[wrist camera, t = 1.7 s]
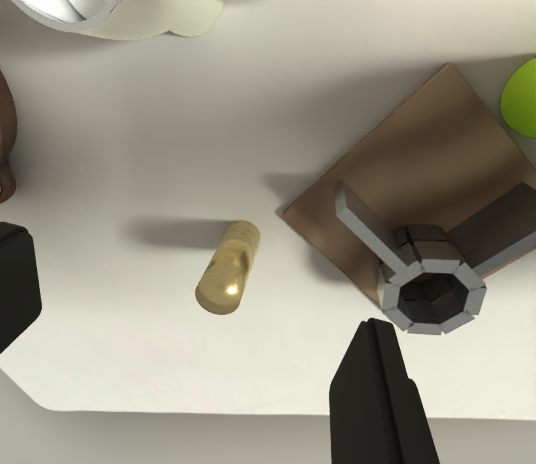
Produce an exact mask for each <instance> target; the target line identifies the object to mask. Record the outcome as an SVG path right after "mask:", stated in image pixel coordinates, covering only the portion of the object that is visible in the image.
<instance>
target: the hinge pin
mask: <svg viewBox="0 0 536 464" xmlns="http://www.w3.org/2000/svg"><path fill="white" fill-rule="evenodd" d="M259 242H260V233H259V231H258V229H257V228H256V227H255V226H254V225H253V224H251V223H250V222H247V221H236V222H234V223H232V224H231V225H230V226H229V227H228V229H227V231H226V232H225V234H224V236H223V238H222V240H221V242H220V244H219V246H218V248H217V250H216V251H215V253H214V255H213V257H212V259H211V261H210V263H209V265H208V267H207V269H206V270H205V272H204V274H203V276H202V278H201V280H200V282H199V284H198V286H197V288H196V291H195V296H196V299H197V301H198V303H199V304H200V305H201V307H203V308H204V309H205V310H207V311H208V312H211V313H213V314H218V315H226V314H230V313H232V312H234V311H235V310H236V309H237V308H238V306H239V303H240V300H241V297H242V294H243V291H244V288H245V285H246V282H247V279H248V276H249V273H250V270H251V266H252V263H253V260H254V257H255V254H256V251H257V248H258V245H259Z"/></svg>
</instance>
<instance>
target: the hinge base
mask: <svg viewBox="0 0 536 464" xmlns="http://www.w3.org/2000/svg"><path fill="white" fill-rule="evenodd" d="M342 180H343V181H344V182H345V183H346V184H347V185H348V186H349V187H350V188H351V189H352V190H353V191H354V192H355V193H356V194H357V195H358V196H359V197H360V198H361V199H362V200H363V201H364V202H365V203H366V204H367V205H368V206H369V207H370V208H371V209H372V210H373V211H374V212H375V213H376V214H377V215H378V216H379V217H380V218H381V219H382V220H383V221H384V222H385V223H386V224H387V225H388V226H389V227H390V228H391V229H392V230H393V231H394V230H395V229H397V228H398V227H399V226H402V227H403V228H404V229H405V225H406V224H428V225H437V226H438V227H442V228H443V229H444V230H445V231H446V232H448V231H449V230H451V229H452V228H454V227H455V226H457V225H458V224H460V223H461V222H463V221H464V220H466V219H467V218H469V217H470V216H472V215H473V214H475V213H476V212H478V211H479V210H481V209H482V208H484V207H485V206H487V205H488V204H490V203H491V202H492V201H494V200H495V199H497V198H498V197H500V196H501V195H503V194H504V193H506V192H507V191H509V190H510V189H512V188H513V187H515V186H516V185H518V184H519V183H521V182H522V181H523V182H525V183H526V184H528V185H529V186H531V187H532V188H534V189H535V190H536V169H535V168H534V167H533V165H532V164H531V163H530V162H529V160H528V159H527V158H526V157H525V155H524V154H523V153H522V151H521V150H520V149H519V148H518V146H517V145H516V144H515V143H514V141H513V140H512V139H511V138H510V136H509V135H508V134H507V133H506V131H505V130H504V129H503V128H502V126H501V125H500V124H499V123H498V121H497V120H496V119H495V118H494V116H493V115H492V114H491V113H490V111H489V110H488V109H487V108H486V106H485V105H484V104H483V103H482V101H481V100H480V99H479V98H478V96H477V95H476V94H475V93H474V91H473V90H472V89H471V88H470V86H469V85H468V84H467V83H466V81H465V80H464V79H463V77H462V76H461V75H460V74H459V72H458V71H457V70H456V69H455V67H454V66H453V65H452V64H451V63H447V64H445V65H444V66H443V67H442V68H441V69H440V70H439V71H438V72H437V73H436V74H435V75H433V76H432V77H431V78H430V79H429V80H428V81H427V82H426V83H425V84H424V85H422V86H421V87H420V88H419V89H418V90H417V91H416V92H415V93H414V94H413V95H411V96H410V97H409V98H408V99H407V100H406V101H405V102H404V103H403V104H402V105H400V106H399V107H398V108H397V109H396V110H395V111H394V112H393V113H392V114H391V115H390V116H388V117H387V118H386V119H385V120H384V121H383V122H382V123H381V124H380V125H379V126H377V127H376V128H375V129H374V130H373V131H372V132H371V133H370V134H369V135H368V136H366V137H365V138H364V139H363V140H362V141H361V142H360V143H359V144H358V145H357V146H356V147H354V148H353V149H352V150H351V151H350V152H349V153H348V154H347V155H346V156H345V157H343V158H342V159H341V160H340V161H339V162H338V163H337V164H336V165H335V166H334V167H332V168H331V169H330V170H329V171H328V172H327V173H326V174H325V175H324V176H323V177H322V178H320V179H319V180H318V181H317V182H316V183H315V184H314V185H313V186H312V187H311V188H309V189H308V190H307V191H306V192H305V193H304V194H303V195H302V196H301V197H300V198H298V199H297V200H296V201H295V202H294V203H293V204H292V205H291V206H290V207H289V208H287V209H286V210H285V211H284V212H283V215H282V217H283V218H284V219H285V220H286V221H287V222H288V223H290V224H291V225H292V226H293V227H294V228H295V229H296V230H297V231H298V232H299V233H300V234H302V235H303V236H304V237H305V238H306V239H307V240H308V241H309V242H310V243H311V244H313V245H314V246H315V247H316V248H317V249H318V250H319V251H320V252H321V253H322V254H324V255H325V256H326V257H327V258H328V259H329V260H330V261H331V262H332V263H333V264H334V265H336V266H337V267H338V268H339V269H340V270H341V271H342V272H343V273H344V274H345V275H347V276H348V277H349V278H350V279H351V280H352V281H353V282H354V283H355V284H356V285H358V286H359V287H360V288H361V289H362V290H363V291H364V292H365V293H366V294H367V295H368V296H370V297H371V298H372V299H373V300H374V301H375V302H376V303H377V304H378V305H379V306H381V305H380V301H379V296H378V292H377V287H376V283H375V279H374V275H373V270H372V268H373V260H374V252H373V251H372V250H371V249H370V248H369V247H368V246H367V245H366V244H365V243H364V242H363V241H362V240H361V239H360V238H359V237H358V236H357V235H356V234H355V233H354V232H353V231H352V230H351V229H350V228H349V227H347V226H346V225H345V224H344V223H343V222H342V221H341V220H340V219H339V218H338V217H337V216H336V205H335V194H334V187H335V186H336V185H337V184H338V183H339V182H341V181H342ZM534 249H536V245H534V246H533V247H531V248H529V249H527V250H526V251H524V252H522V253H521V254H519V255H517V256H515V257H514V258H512V259H510V260H509V261H507V262H505V263H503V264H502V265H500V266H498V267H497V268H495V269H493V270H491V271H490V272H488V273H486V274H485V275H483V276H481V278H482V279H484V278H486V277H487V276H489V275H491V274H493V273H494V272H496V271H498V270H500V269H501V268H503V267H505V266H506V265H508V264H510V263H512V262H513V261H515V260H517V259H519V258H520V257H522V256H524V255H525V254H527V253H529V252H531V251H532V250H534ZM434 274H435V273H431V272H423V273H421V274H420V275H418V276H417V277H415V278H414V279H412V280H410V281H409V282H423V281H424V280H426V279H427V278H429V277H431V276H432V275H434Z"/></svg>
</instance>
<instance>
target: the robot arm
mask: <svg viewBox="0 0 536 464" xmlns="http://www.w3.org/2000/svg"><path fill="white" fill-rule="evenodd" d="M41 310H42V302H41V295H40V288H39V280H38V273H37V266H36V258H35V251H34V244H33V238H32V236H31V235H30V234H29V233H28V230H27V229H26V228H24V227H22V226H18V225H14V224H10V223H7V222H0V354H1V353H2V352H3V351H4V350H5V349H6V348H7V347H8V346H9V345H10V344H11V343H12V342H13V341H14V340H15V339H16V338H17V337H18V336H19V335H21V334H22V333H23V332H24V331H25V330H26V329H27V328H28V327H29V326H30V325H31V324H32V323H33V322H34V321H35V320H36V319H37V318H38V316H39V315H40V313H41ZM329 405H330V431H331V458H332V464H440V463H439V459H438V456H437V452H436V449H435V445H434V442H433V439H432V435H431V432H430V429H429V425H428V422H427V419H426V415H425V412H424V408H423V405H422V402H421V398H420V395H419V392H418V389H417V386H416V384H415V382H414V381H413V380H412V379H409V378H408V375H407V372H406V368H405V365H404V361H403V358H402V354H401V350H400V347H399V343H398V340H397V336H396V333H395V329H394V326H393V324H392V323H390V322H386V321H383V320H379V319H375V318H370V319H368V321H367V322H365V321H362V322H361V323H360V325H359V327H358V329H357V331H356V333H355V335H354V337H353V339H352V341H351V343H350V345H349V347H348V349H347V351H346V353H345V355H344V358H343V360H342V362H341V364H340V366H339V368H338V370H337V372H336V374H335V376H334V378H333V380H332V382H331V385H330V391H329Z"/></svg>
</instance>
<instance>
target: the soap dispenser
mask: <svg viewBox="0 0 536 464" xmlns="http://www.w3.org/2000/svg"><path fill="white" fill-rule="evenodd" d="M500 107H501V114H502V117H503V119H504V121H505V122H506V124H507V125H508V126H509V127H510V128H512V129H513V130H515V131H517V132H519V133H522V134H524V135H526V136H529V137H531V138H534V139H536V57H535V58H533V59H531V60H529V61H528V62H526V63H525V64H524V65H522V66H521V67H520V68H519V69H518V70H517V71H516V72H515V73H514V74H513V75H512V77H511V78H510V79H509V81H508V82H507V84H506V86H505V88H504V91H503V93H502V97H501V105H500Z"/></svg>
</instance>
